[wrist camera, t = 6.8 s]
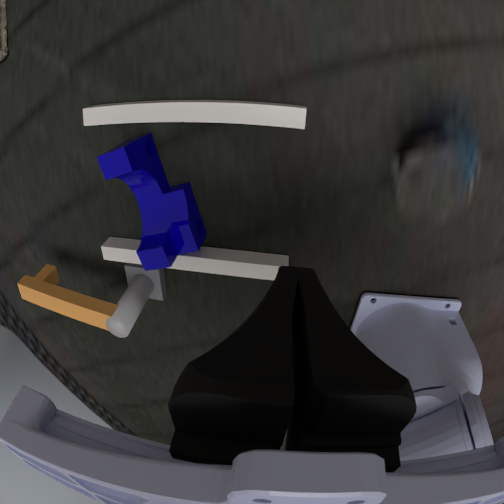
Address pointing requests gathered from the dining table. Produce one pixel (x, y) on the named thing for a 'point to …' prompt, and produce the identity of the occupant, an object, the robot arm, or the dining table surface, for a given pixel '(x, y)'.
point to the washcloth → (3, 30)
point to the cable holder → (156, 203)
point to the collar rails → (196, 112)
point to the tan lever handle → (87, 301)
